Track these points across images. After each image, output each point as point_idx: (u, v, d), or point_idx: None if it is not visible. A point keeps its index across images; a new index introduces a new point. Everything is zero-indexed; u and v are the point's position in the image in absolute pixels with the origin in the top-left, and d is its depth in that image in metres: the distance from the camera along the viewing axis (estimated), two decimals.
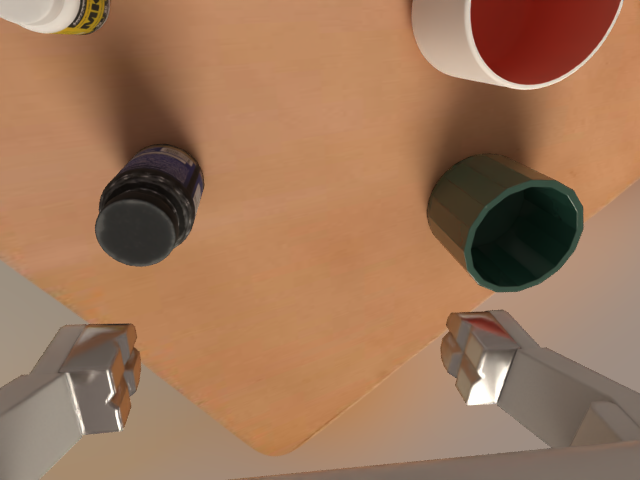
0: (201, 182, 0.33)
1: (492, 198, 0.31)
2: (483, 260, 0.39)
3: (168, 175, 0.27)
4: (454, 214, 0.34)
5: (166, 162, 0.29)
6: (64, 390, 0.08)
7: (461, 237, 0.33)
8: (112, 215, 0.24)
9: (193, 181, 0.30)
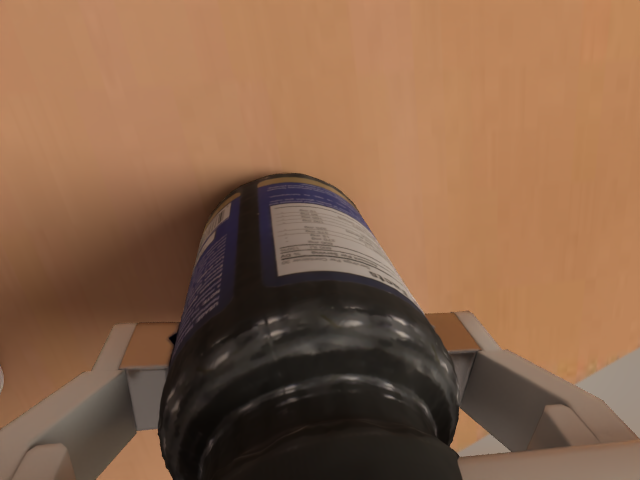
0: (281, 189, 0.12)
1: None
2: None
3: (177, 357, 0.07)
4: None
5: (184, 307, 0.10)
6: (124, 387, 0.08)
7: None
8: None
9: (248, 235, 0.10)
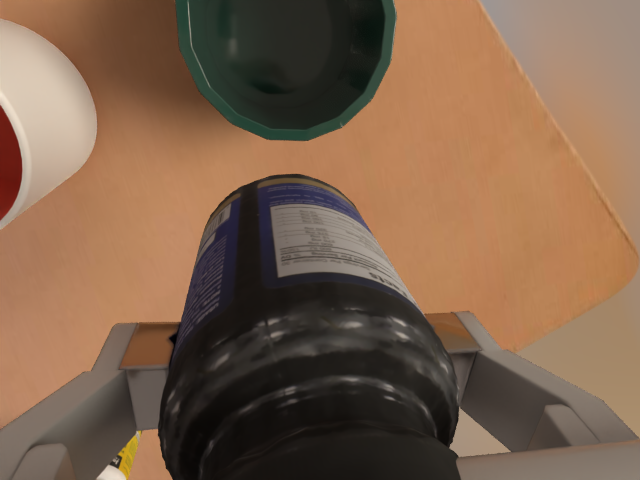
0: (281, 190, 0.12)
1: (218, 110, 0.20)
2: (360, 35, 0.24)
3: (178, 358, 0.07)
4: None
5: (184, 308, 0.10)
6: (124, 387, 0.08)
7: None
8: None
9: (249, 236, 0.10)
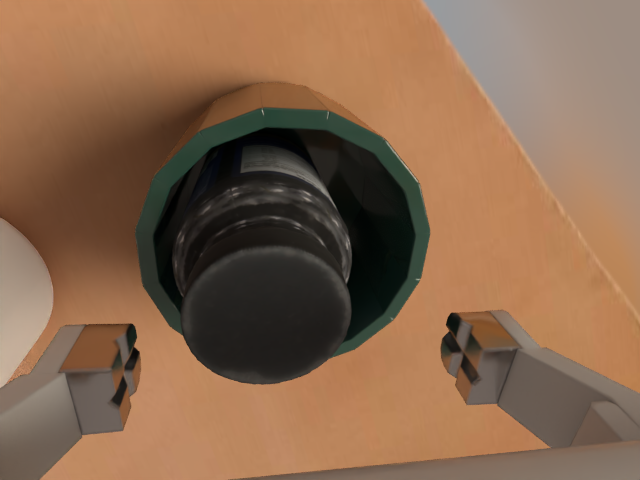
0: (252, 139, 0.18)
1: None
2: (377, 208, 0.19)
3: (183, 218, 0.13)
4: None
5: None
6: (64, 390, 0.08)
7: None
8: (223, 357, 0.11)
9: (227, 160, 0.15)
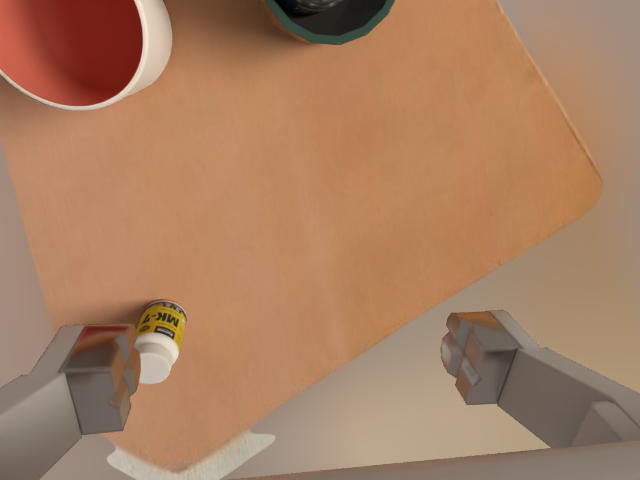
0: None
1: (277, 17, 0.28)
2: None
3: None
4: (306, 41, 0.31)
5: None
6: (64, 390, 0.08)
7: None
8: None
9: None
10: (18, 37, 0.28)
